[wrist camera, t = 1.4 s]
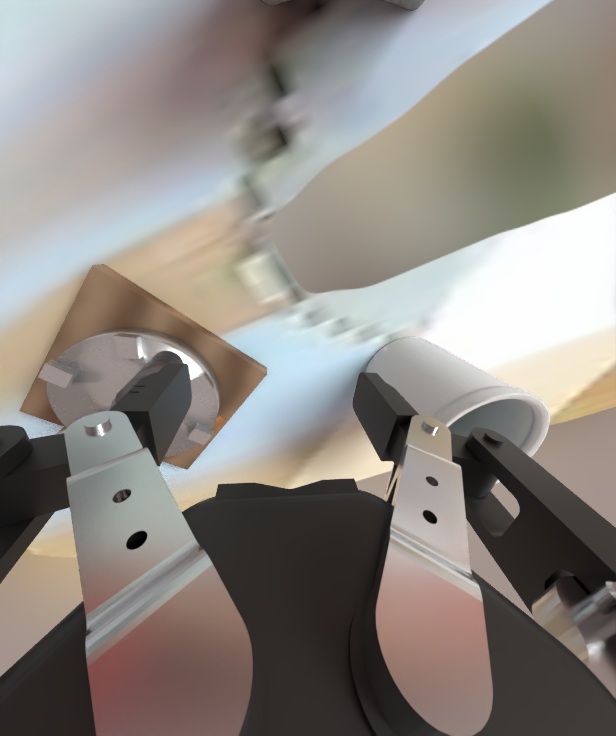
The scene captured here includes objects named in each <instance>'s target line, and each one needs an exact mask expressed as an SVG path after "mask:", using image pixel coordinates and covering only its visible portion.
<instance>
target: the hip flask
mask: <svg viewBox="0 0 616 736" xmlns="http://www.w3.org/2000/svg"><path fill="white" fill-rule="evenodd" d="M262 1H263V2H264V3H266V4H268V5H276V4H279V3H283V2H286V1H289V0H262ZM383 1H387V2H390V3H393V4H396V5H399V6H401V7H404V8H406V9H409V10H414V9H417V8H418V7H419V6H420V5H421V4H422V3H423V2H424V0H383Z"/></svg>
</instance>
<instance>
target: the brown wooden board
mask: <svg viewBox="0 0 616 736" xmlns="http://www.w3.org/2000/svg"><path fill="white" fill-rule="evenodd" d="M123 327H137V328H146V329H152V330H156V331H160V332H163V333H166V334H169V335H171V336H174V337H176V338H178V339H180V340H182V341H184V342H185V343H187V344H189V345H190V346H192V347H193V348H194V349H195V350H197V351H198V352H199V353H200V354H201V355H202V356H203V357H204V358H205V359H206V360H207V361H208V362H209V364H210V365H211V366H212V368H213V370H214V371H215V373H216V375H217V378H218V380H219V383H220V388H221V403H220V407H219V411H218V415H217V418H216V422H215V424H214V426H213V428H212V430H213V434H212V436H211V438H210V439H209V440H208V441H207V442H206V444H205V445H202V444H200V443H199V444H198V445H196V446H194V447H193V448H191V449H189V450H187V451H185V452H182V453H179V454H177V455H173V456H169V457H164V459H163V461H164V462H167V463H170V464H172V465H175V466H178V467H181V468H184V469H188V468H189V467H190V466H191V465H192V463H193V462H194V461H195V460H196V459H197V457H198V456H199V455H200V454H201V453H202V451H203V450H204V449H205V448H206V447H207V445H208V444H209V443H210V442H211V441H212V439H213V438H214V437H215V436H216V435H217V433H218V432H219V431H220V430H221V429H222V427H223V426H224V425H225V424H226V423H227V421H228V420H229V419H230V418H231V417H232V415H233V414H234V413H235V412H236V411H237V409H238V408H239V407H240V406H241V405H242V403H243V402H244V401H245V400H246V399H247V397H248V396H249V395H250V394H251V393H252V391H253V390H254V389H255V388H256V387H257V386H258V384H259V383H260V382H261V381H262V380H263V378H264V377H265V376H266V375H267V368H266V367H265V366H263V365H262V364H260V363H259V362H257V361H255V360H254V359H252V358H251V357H249V356H248V355H246V354H244V353H243V352H241V351H240V350H238V349H237V348H235V347H233V346H232V345H230V344H229V343H227V342H226V341H224V340H222V339H221V338H219V337H218V336H216V335H215V334H213V333H211V332H210V331H208V330H207V329H205V328H203V327H202V326H200V325H199V324H197V323H196V322H194V321H192V320H191V319H189V318H188V317H186V316H185V315H183V314H181V313H180V312H178V311H177V310H175V309H174V308H172V307H170V306H169V305H167V304H166V303H164V302H163V301H161V300H159V299H158V298H156V297H155V296H153V295H152V294H150V293H148V292H147V291H145V290H144V289H142V288H141V287H139V286H137V285H136V284H134V283H133V282H131V281H130V280H128V279H126V278H125V277H123V276H122V275H120V274H118V273H117V272H115V271H114V270H112V269H111V268H109V267H107V266H106V265H104V264H101V265H92V267H91V269H90V271H89V273H88V275H87V277H86V279H85V281H84V283H83V285H82V287H81V289H80V291H79V293H78V295H77V297H76V299H75V301H74V303H73V305H72V307H71V309H70V311H69V313H68V315H67V317H66V319H65V321H64V323H63V325H62V327H61V329H60V331H59V333H58V335H57V337H56V339H55V341H54V343H53V345H52V347H51V349H50V351H49V353H48V355H47V357H46V359H45V361H44V363H43V365H42V367H41V369H40V371H39V373H38V375H37V377H36V379H35V381H34V383H33V385H32V387H31V389H30V391H29V393H28V395H27V397H26V399H25V401H24V403H23V405H22V407H21V409H20V411H21V412H24V413H27V414H30V415H33V416H36V417H38V418H41V419H44V420H47V421H50V422H53V423H56V424H58V425H61V426H64V425H63V423H62V422H61V421H60V420H59V419H58V417H57V416H56V414H55V412H54V411H53V409H52V407H51V404H50V402H49V398H48V394H47V381H45V380H43V379H41V378H38V376H39V374H40V372H41V370H42V368H43V366H44V364H45V363H46V362H48V361H50V360H52V359H54V360H56V359H57V358H58V357H59V356H60V355H61V354H62V353H63V352H64V351H66V350H67V349H69V348H70V347H72V346H73V345H75V344H77V343H79V342H81V341H83V340H85V339H87V338H89V337H91V336H93V335H95V334H97V333H99V332H102V331H106V330H109V329H115V328H123ZM64 427H65V426H64Z"/></svg>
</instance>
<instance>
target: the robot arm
mask: <svg viewBox="0 0 616 736" xmlns="http://www.w3.org/2000/svg"><path fill="white" fill-rule="evenodd" d="M191 401H192V391H191V381H190V371H189V366H188V364H187V363H173V362H168V363H166V364H165V365H164V366H163V367H162V369H161V370H160V371H159V372H158V373H152V374H150V375H148V376H146V377H143V378H142V379H140V380H139V381H138V382H137V383H136V384H135V385H134V387H132V388H131V389H130V390H129V391H128V393H126V394H125V395H124V396H123V397H122V398H121V399H120V400H119V401H118V402H117V403H116V404H115V405H114V406H113V407H112V408H111V409H110V410H109V411H103V412H98V413H94V414H90V415H87V416H85V417H82V418H80V419H78V420H77V421H75V422H73V423H72V424H71V425H70V426H68V428H67V429H66V430H65V433H62V434H57V435H51V436H45V437H39V438H34V439H29V437H28V435H27V433H26V431H25V430H24V428H22V427H19V426H12V425H7V426H0V583H1V582H2V581H3V579H4V578H5V577H6V575H7V574H8V573H9V571H10V570H11V569H12V567H13V566H14V565H15V564H16V562H17V561H18V559H19V558H20V557H21V556H22V554H23V553H24V552H25V550H26V549H27V548H28V546H29V545H30V544H31V542H32V541H33V540H34V539H35V537H36V536H37V535H38V533H39V532H40V531H41V529H42V528H43V527H44V525H45V524H46V523H47V521H48V520H49V519H50V517H51V516H52V515H53V514H54V512H55V511H58V510H62V509H65V508H69V507H70V510H71V517H72V524H73V531H74V538H75V545H76V552H77V559H78V565H79V572H80V580H81V587H82V593H83V600H84V601H83V602H81V604H79V605H78V606H77V607H76V608H75V609H74V610H73V611H72V612H70V613H69V614H68V615H67V616H66V617H65V618H64V619H63V620H62V621H61V622H60V623H59V624H57V626H55V627H54V628H53V629H52V630H51V631H50V632H49V633H48V634H47V635H45V636H44V637H43V638H42V639H41V640H40V641H39V642H38V643H37V644H36V645H35V646H33V647H32V648H31V649H30V650H29V651H28V652H27V653H26V654H25V655H24V656H23V657H22V658H20V659H19V660H18V661H17V662H16V663H15V664H14V665H13V666H12V667H11V668H9V669H8V670H7V671H6V672H5V673H4V674H3V675H2V676H1V677H0V736H616V528H615V527H614V526H613V525H611V524H610V523H609V522H608V521H607V520H605V519H604V518H603V517H602V516H601V515H599V514H598V513H597V512H596V511H595V510H593V509H592V508H591V507H590V506H589V505H587V504H586V503H585V502H584V501H582V500H581V499H580V498H579V497H578V496H576V495H575V494H574V493H573V492H572V491H570V490H569V489H568V488H567V487H565V486H564V485H563V484H562V483H560V482H559V481H558V480H557V479H556V478H555V477H553V476H552V475H551V474H550V473H548V472H547V471H546V470H545V469H544V468H543V467H541V466H540V465H539V464H538V463H536V462H535V461H534V460H533V459H531V458H530V457H529V456H528V455H527V454H526V453H524V452H523V451H522V450H521V449H520V448H518V447H517V446H516V445H515V444H513V443H512V442H511V441H510V440H509V439H507V438H506V437H504V436H503V435H501V434H499V433H497V432H495V431H492V430H490V429H486V428H481V427H476V428H473V429H472V430H471V432H470V434H469V436H468V437H465V436H461V435H456V434H451V432H450V430H449V428H448V427H447V426H446V425H445V424H443V423H442V422H440V421H439V420H437V419H435V418H432V417H429V416H426V415H419V414H418V412H417V411H416V410H415V409H414V408H413V407H412V406H411V405H410V404H409V403H408V402H407V401H405V398H404V397H403V396H402V395H400V393H399V392H398V391H397V390H396V389H395V388H394V387H392V386H391V385H389V384H388V383H386V382H385V381H384V380H383V379H382V378H381V377H380V376H379V375H378V374H377V373H371V372H361V373H360V375H359V378H358V382H357V386H356V390H355V394H354V398H353V408H354V411H355V413H356V415H357V417H358V419H359V421H360V422H361V424H362V426H363V428H364V430H365V432H366V434H367V436H368V437H369V439H370V441H371V443H372V445H373V447H374V449H375V450H376V452H377V454H378V456H379V458H380V460H381V461H393V462H394V465H393V468H392V471H391V474H390V478H389V482H388V485H387V489H386V493H385V496H384V500H383V499H381V498H379V497H377V496H375V495H373V494H371V493H368V492H365V491H361V490H358V488H357V485H356V483H355V480H354V479H333V480H321V481H318V482H315V483H311V484H308V485H304V486H301V487H298V488H294V489H285V488H279V487H274V486H269V485H264V484H258V483H237V484H218V488H217V492H216V496H215V497H212V498H209V499H206V500H204V501H201V502H199V503H197V504H195V505H193V506H191V507H189V508H188V509H186V510H185V511H183V512H181V511H180V509H179V507H178V505H177V503H176V501H175V499H174V497H173V495H172V493H171V491H170V489H169V488H168V486H167V484H166V482H165V480H164V478H163V476H162V474H161V472H160V470H159V468H158V466H160V465H161V463H162V461H163V459H164V457H165V455H166V453H167V451H168V449H169V447H170V445H171V443H172V441H173V439H174V437H175V435H176V433H177V432H178V430H179V428H180V426H181V424H182V422H183V420H184V418H185V416H186V414H187V412H188V410H189V408H190V406H191ZM497 480H499V481H500V482H501V483H502V484H503V485H504V486H505V487H506V488H507V489H508V490H509V491H510V492H511V493H512V494H513V495H514V497H515V498H516V499H517V501H518V503H519V506H520V512H519V515H518V516H517V517H516V519H514V518H513V517H512V516H511V514H510V513H509V512H508V511H507V510H506V509H505V508H504V507H503V505H502V504H501V503H500V502H499V501H498V499H497V498H496V497H495V496H494V495H493V494H492V493H491V489H492V488H493V486H494V485H495V483H496V482H497ZM466 519H467V520H468V522H469V523H470V524H471V526H472V528H473V529H474V531H475V532H476V533H477V535H478V536H479V538H480V539H481V541H482V542H483V544H484V545H485V546H486V548H487V549H488V551H489V552H490V554H491V555H492V557H493V558H494V560H495V561H496V563H497V564H498V565H499V567H500V568H501V570H502V571H503V573H504V574H505V576H506V577H507V579H508V580H509V582H510V583H511V584H512V586H513V587H514V589H515V590H516V592H517V593H518V595H519V596H520V597H521V599H522V600H523V602H524V603H525V605H526V606H527V608H528V609H529V611H530V612H531V614H532V615H533V617H534V620H535V621H534V620H533V619H532V618H531V617H529V616H528V615H527V614H526V613H524V612H523V611H522V610H521V609H519V608H518V607H517V606H516V605H514V604H513V603H512V602H511V601H510V600H508V599H507V598H506V597H505V596H503V595H502V594H501V593H499V592H498V591H497V590H496V589H495V588H493V587H492V586H491V585H489V583H487V582H486V581H485V580H484V579H482V578H481V577H480V576H479V575H477V574H476V573H475V572H474V571H472V570H471V567H470V557H469V547H468V535H467V524H466Z"/></svg>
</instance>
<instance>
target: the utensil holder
mask: <svg viewBox="0 0 616 736" xmlns="http://www.w3.org/2000/svg"><path fill="white" fill-rule="evenodd" d="M365 372H371V373H377V374H378V375H379V376H380V377H381V378H382V379H383V380H384V381H385V382H386V383H388V384H389V385H391V386H392V387H394V388H395V389H396V390H397V391H398V392H399V393H400V395H402V396H403V397H404V398H405V401H407V402H408V403H409V404H410V405H411V406H412V407H413V408H414V409H415V410H416V411H417V412H418V414H419V415H426V416H429V417H432V418H435V419H437V420H439V421H440V422H442V423H443V424H445V425H446V426H447V427H448V428H449V430H450V432H451V434H456V435H461V436H465V437H468V436H469V434H470V432H471V430H472V429H473V428H476V427H481V428H486V429H490V430H492V431H495V432H497V433H499V434H501V435H503V436H504V437H506V438H507V439H509V440H510V441H511V442H512V443H513V444H515V445H516V446H517V447H518V448H520V449H521V450H522V451H523V452H524V453H526V454H527V455H528V456H529V457H530V458H531V457H532V456H533V454H534V453H535V452H536V451H537V449H538V448H539V446H540V445H541V443H542V442H543V440H544V438H545V436H546V433H547V431H548V427H549V421H550V416H549V411H548V409H547V407H546V405H545V404H544V403H543V402H542V401H541V400H540V399H539V398H537V397H536V396H534V395H533V394H531V393H529V392H527V391H525V390H522V389H519V388H515V387H512V386H510V385H509V384H507V383H505V382H503V381H501V380H500V379H498V378H496V377H494V376H492V375H491V374H489V373H487V372H485V371H483V370H481V369H479V368H478V367H476V366H474V365H472V364H470V363H468V362H467V361H465V360H463V359H461V358H459V357H458V356H456V355H454V354H452V353H450V352H449V351H447V350H445V349H443V348H441V347H439V346H437V345H435V344H433V343H431V342H429V341H427V340H425V339H422V338H418V337H405V338H401V339H397V340H395V341H393V342H391V343H389V344H387V345H386V346H384V347H383V348H382V349H380V350H379V351H378V352H377V353H376V354H375V355H374V356H373V358H372V359H371V361H370V362H369V364H368V366H367V368H366V370H365ZM498 482H500V481H499V480H497V482H496V483H498ZM496 483H495V484H496Z"/></svg>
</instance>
